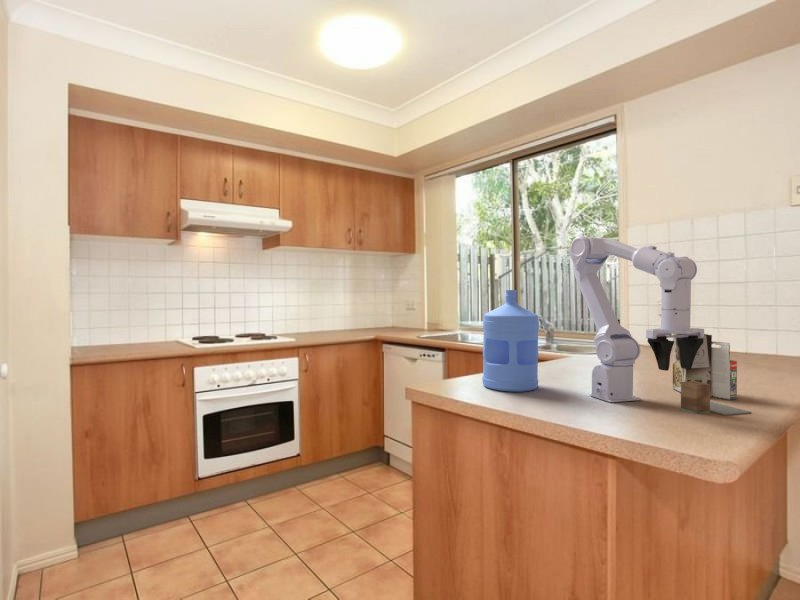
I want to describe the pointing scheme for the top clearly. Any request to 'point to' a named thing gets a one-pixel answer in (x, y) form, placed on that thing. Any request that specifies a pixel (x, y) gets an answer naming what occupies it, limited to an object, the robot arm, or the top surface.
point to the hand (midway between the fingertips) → (674, 369)
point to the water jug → (510, 347)
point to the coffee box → (699, 367)
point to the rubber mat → (726, 409)
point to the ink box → (723, 372)
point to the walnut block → (695, 397)
